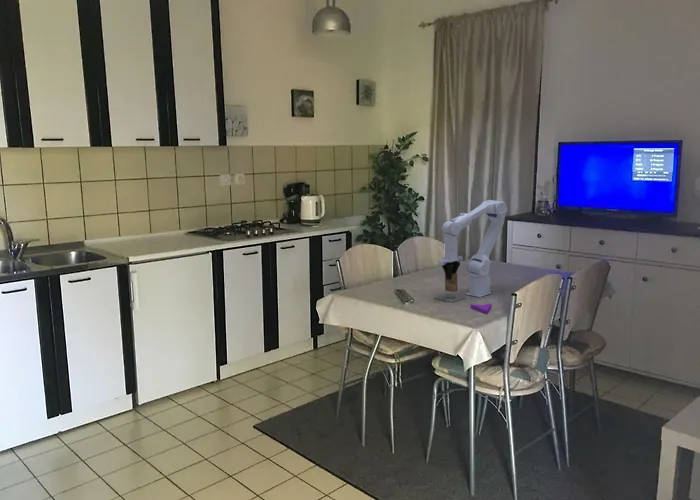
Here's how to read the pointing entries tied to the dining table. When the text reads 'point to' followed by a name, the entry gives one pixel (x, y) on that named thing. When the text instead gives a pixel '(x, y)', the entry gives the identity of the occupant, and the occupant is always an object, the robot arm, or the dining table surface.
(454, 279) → the tall wooden plank
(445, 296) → the rubber mat
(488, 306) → the arrowhead
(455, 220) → the robot arm
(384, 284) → the dining table surface
